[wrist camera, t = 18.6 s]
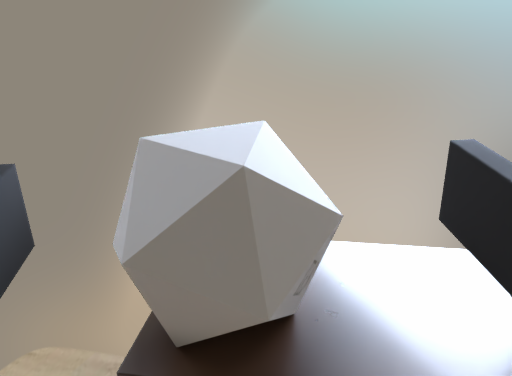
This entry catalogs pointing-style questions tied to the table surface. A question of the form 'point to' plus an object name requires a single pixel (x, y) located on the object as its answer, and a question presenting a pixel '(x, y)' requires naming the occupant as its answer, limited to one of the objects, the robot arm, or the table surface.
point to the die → (221, 229)
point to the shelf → (359, 323)
